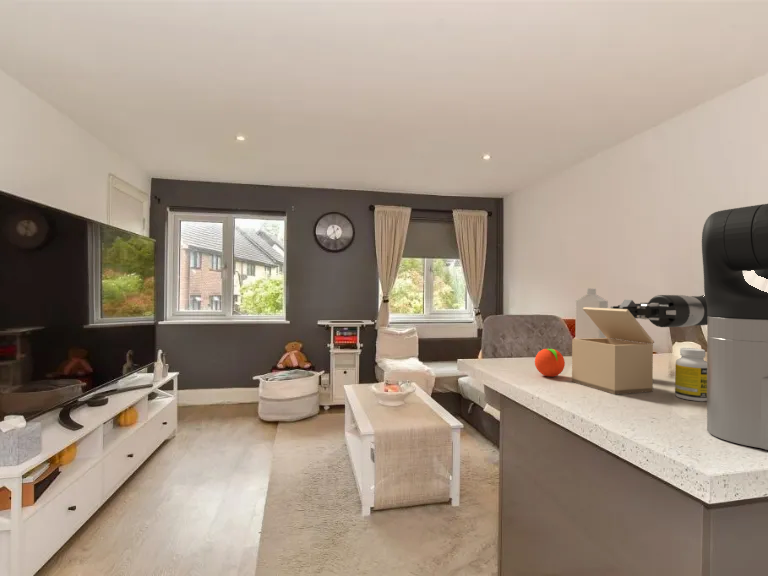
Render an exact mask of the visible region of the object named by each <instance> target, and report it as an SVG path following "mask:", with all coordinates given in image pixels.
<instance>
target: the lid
mask: <svg viewBox="0 0 768 576" xmlns="http://www.w3.org/2000/svg"><path fill="white" fill-rule="evenodd" d="M636 304H637V303H635V301H634V300H633V299H624V300H623V301H622V302H621V304H619V305H620V307H635V306H637V305H636ZM620 307H619V308H618V309H612V308H611V307H610V308H609V307H608V308H592V307H584V308H583V310H584V311H585V312H586V314H587V315H588V316H589V317H590V318H591V320H592V321H593V322H594V323H595V324H596V325H597V327H598V328H599V329H600V330H601V331H602V333H603V334H604V335H605V336H606V337H607V338H610V339H618V340H625V341H632V342H639V343H647V344H653V345H654V343H655V341H654V340H653V339H652V337H651V335H649V333H647V331H646V330H645V328H644V327H643V326H642V325H641V324H640V322H639V321H638V319H637V318H634V316H633V315H632V314H631V313H630V311H629V310H628V309H620Z"/></svg>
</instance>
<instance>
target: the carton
mask: <svg viewBox="0 0 768 576" xmlns="http://www.w3.org/2000/svg"><path fill="white" fill-rule="evenodd" d="M571 342H572V344H571V347H572V350H571V360H572V361H571V382H572V383H576V384H578V385H581V386H585V387H589V388H591V389H596V390H598V391H601V390H602V392H605V393H609V394H611V395H626V394H639V393H652V392H653V387H654V386H653V379H654V378H653V377H654V376H653V374H654V373H653V372H654V371H653V368H654V367H653V366H654V365H653V364H654V361H653V359H654V356H653V355H654V349H653V346H654V343H653V344H648V343H641V342H633V341H626V340H619V339H612V338H586V339H575V338H572V340H571Z"/></svg>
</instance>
